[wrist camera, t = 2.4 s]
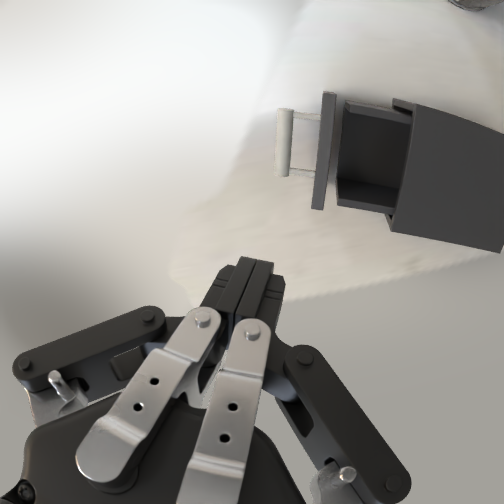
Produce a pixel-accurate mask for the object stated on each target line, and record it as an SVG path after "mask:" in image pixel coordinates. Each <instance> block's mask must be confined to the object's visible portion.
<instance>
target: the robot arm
mask: <svg viewBox="0 0 504 504" xmlns="http://www.w3.org/2000/svg"><path fill="white" fill-rule="evenodd" d="M449 1H450V2H451V3H453V4H455V5H456V6H458V7H461V8H463V9H466V10H471V11H478V10H482V9H484V8H486V7H489V6H491V5H494V4H497V3H500V2H503V1H504V0H449ZM273 269H274V263H273V262H268V261H263V260H258V261H257V259H253V258H248V257H243V256H241V257H240V259H239V261H238V263H237V265H236V266H232V265H227V266H225V267H224V268H222V269H221V270H220V271H219V273H218V274H217V276H216V279H215V280H214V282H213V283H212V285H211V287H210V289H209V290H208V292H207V294H206V296H205V298H204V299H203V301H202V303H201V305H200V307H198V308H194V309H192V310H191V311H189V312H188V313H187V315H186V316H183V317H165V314H164V312H163V311H162V310H161V309H160V308H158V307H156V306H144V307H141V308H138V309H136V310H133V311H131V312H129V313H126V314H123V315H120V316H118V317H115V318H113V319H110V320H107V321H105V322H102V323H100V324H97V325H95V326H92V327H89V328H87V329H84V330H81V331H79V332H76V333H74V334H71V335H68V336H66V337H63V338H61V339H58V340H56V341H53V342H50V343H47V344H45V345H42V346H39V347H37V348H34V349H31V350H29V351H26V352H24V353H22V354H20V355H19V356H18V357H17V358H16V359H15V361H14V363H13V367H12V370H13V374H14V376H15V377H16V378H17V379H18V381H19V382H20V383H21V384H22V385H23V387H24V389H25V390H26V391H27V393H28V398H29V403H30V407H31V411H32V416H33V419H34V423H35V427H36V429H34V431H32V432H31V434H30V435H29V436H28V438H27V440H26V443H25V447H24V462H23V470H22V474H21V478H20V480H19V482H18V483H17V485H16V486H15V487H14V488H13V489H11V490H10V491H9V492H8V493H6V494H5V495H3V496H2V497H0V504H306V502H305V500H304V499H303V497H302V495H301V493H300V491H299V490H298V488H297V486H296V484H295V482H294V480H293V478H292V477H291V475H290V473H289V471H288V469H287V467H286V465H285V463H284V461H283V459H282V458H281V455H280V454H279V452H278V450H277V448H276V446H275V445H274V443H273V442H272V440H271V439H270V438H269V437H268V436H267V435H266V434H265V433H264V432H263V431H261V430H260V429H258V428H257V427H255V426H254V424H255V419H256V414H257V409H258V404H259V399H260V393H261V389H263V390H265V391H267V392H268V393H270V394H272V395H274V396H275V399H276V402H277V404H278V405H279V407H280V409H281V410H282V412H283V414H284V416H285V417H286V419H287V421H288V422H289V424H290V426H291V427H292V429H293V431H294V433H295V434H296V436H297V438H298V439H299V441H300V443H301V444H302V446H303V447H304V449H305V451H306V452H307V454H308V455H309V457H310V459H311V460H312V462H313V464H314V465H315V467H316V469H317V470H318V472H317V473H316V474H315V475H314V476H313V478H312V479H311V482H310V491H311V494H312V496H313V504H396V503H398V502H400V501H402V500H403V499H404V498H405V497H406V496H407V495H408V493H409V491H410V489H411V477H410V474H409V473H408V471H407V470H406V469H405V467H404V466H403V465H402V463H401V462H400V461H399V459H398V458H397V456H396V455H395V454H394V452H393V451H392V450H391V448H390V447H389V446H388V444H387V443H386V442H385V440H384V439H383V437H382V436H381V435H380V433H379V432H378V431H377V429H376V428H375V427H374V425H373V424H372V423H371V421H370V420H369V418H368V417H367V416H366V414H365V413H364V412H363V410H362V409H361V408H360V406H359V405H358V403H357V402H356V401H355V399H354V398H353V397H352V395H351V394H350V393H349V391H348V390H347V389H346V387H345V386H344V384H343V383H342V382H341V380H340V379H339V377H338V376H337V375H336V373H335V372H334V371H333V369H332V368H331V367H330V365H329V364H328V362H327V361H326V360H325V358H324V357H323V356H322V354H321V353H320V352H319V351H318V350H317V349H315V348H314V347H312V346H309V345H297V346H294V347H291V346H289V345H287V344H285V343H283V342H282V341H281V340H280V339H279V338H278V337H277V335H276V333H275V329H276V326H277V322H278V318H279V314H280V310H281V306H282V301H283V295H284V290H285V285H286V284H285V281H284V278H283V276H280V275H275V274H273ZM136 347H137V348H136ZM134 348H135V349H134ZM131 349H132V350H131ZM129 350H130V351H129ZM225 350H228V351H227V354H226V358H225V361H224V365H223V368H222V370H221V369H220V370H219V372H218V375H217V377H216V381H215V384H214V388H213V391H212V394H211V397H210V400H209V404H208V407H207V409H201V405H202V401H203V398H204V396H205V394H206V392H207V390H208V388H209V386H210V384H211V382H212V381H213V379H214V377H215V375H216V373H217V371H218V369H219V367H220V365H221V359H222V357H223V354H224V352H225ZM127 351H128V352H127ZM124 352H125V353H124ZM122 353H123V354H122ZM119 354H120V355H119ZM117 355H118V356H117ZM114 356H116V357H114ZM123 388H125V389H124V390H123V392H119V393H117V394H114V395H112V396H110V397H108V398H106V399H103V400H101V401H99V402H96V403H94V404H92V405H90V406H88V403H89V402H91V401H94V400H97V399H99V398H102V397H104V396H107V395H109V394H111V393H114V392H116V391H119V390H121V389H123Z"/></svg>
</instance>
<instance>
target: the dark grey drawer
mask: <svg viewBox="0 0 504 504" xmlns="http://www.w3.org/2000/svg"><path fill="white" fill-rule="evenodd" d="M335 106H336V94H335V93H333V92H327V91H323V97H322V110H321V115H319V114H310V113H301V112H294V110H292V109H284V108H279V109H278V110H277V130H276V148H275V165H274V175H276V176H279V177H287V176H289V174H291V175H299V176H306V177H314V178H315V181H314V189H313V197H312V205H311V209H316V210H323V208H324V201H325V194H326V186H327V179H328V171H329V163H330V155H331V146H332V137H333V127H334V117H335ZM293 118H299V119H308V120H316V121H321V122H320V133H319V143H318V153H317V163H316V171H312V170H305V169H297V168H290V159H291V145H292V131H293ZM411 121H412V114H411V113H407V112H403V111H398V110H394V109H390V108H385V107H380V106H375V105H370V104H365V103H359V102H354V101H348V100H345V105H344V116H343V125H342V135H341V143H340V151H339V159H338V167H337V174H336V181H335V182H336V195H337V205H338V206H344V207H350V208H356V209H362V210H368V211H373V212H379V213H385V214H390V215H393V213H394V209H395V205H396V200H397V196H398V192H399V187H400V183H401V178H402V173H403V168H404V163H405V158H406V152H407V147H408V141H409V135H410V128H411Z"/></svg>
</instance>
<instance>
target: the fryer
mask: <svg viewBox="0 0 504 504" xmlns="http://www.w3.org/2000/svg"><path fill="white" fill-rule="evenodd" d="M392 109H394V110H398V111H403V112H407V113H411V114H412V121H411V128H410V135H409V141H408V147H407V152H406V158H405V163H404V168H403V173H402V178H401V183H400V187H399V192H398V196H397V200H396V205H395V209H394V213H393V215H390V214H385V213H384V214H385V216H386V219H387V222H388V225H389V227H390V230H391V232H397V233H402V234H408V235H413V236H418V237H424V238H429V239H434V240H439V241H444V242H449V243H454V244H459V245H463V246H468V247H473V248H477V249H482V250H487V251H491V252H495V253H500V252H501V250H502V248H503V245H504V134H502V133H499V132H497V131H495V130H492V129H490V128H487V127H485V126H482V125H480V124H477V123H474V122H472V121H469V120H466V119H463V118H461V117H458V116H455V115H452V114H449V113H445V112H442V111H439V110H436V109H432V108H429V107H425V106H422V105H418V104H414V103H411V102H407V101H403V100H398V99H394V98H393V101H392Z"/></svg>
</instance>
